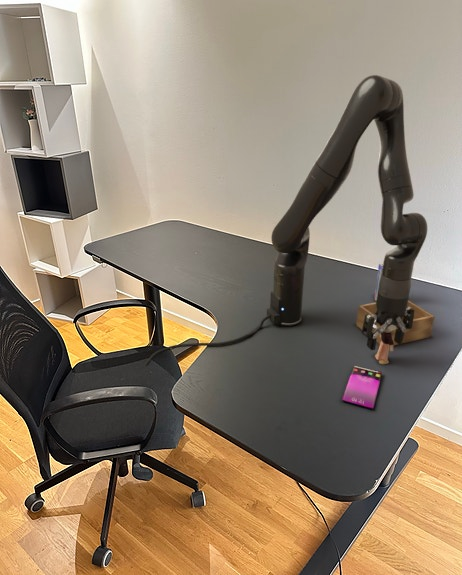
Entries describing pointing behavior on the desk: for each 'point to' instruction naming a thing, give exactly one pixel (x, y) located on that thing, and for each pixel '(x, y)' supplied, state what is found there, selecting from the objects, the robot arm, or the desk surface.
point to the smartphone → (362, 387)
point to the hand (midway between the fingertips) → (384, 345)
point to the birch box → (420, 320)
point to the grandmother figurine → (385, 345)
